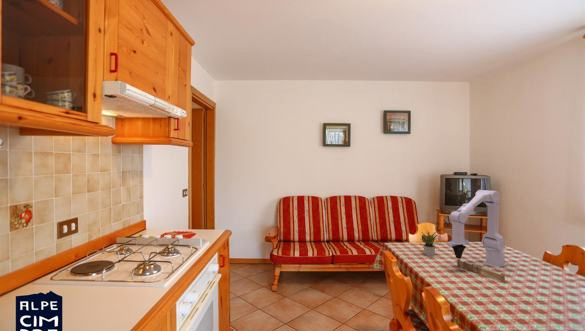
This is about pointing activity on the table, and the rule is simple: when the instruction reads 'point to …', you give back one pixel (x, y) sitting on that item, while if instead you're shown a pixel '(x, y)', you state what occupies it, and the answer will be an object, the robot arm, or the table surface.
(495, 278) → the fence fixed
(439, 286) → the table surface
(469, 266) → the fence panel
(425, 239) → the house plant
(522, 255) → the table surface
